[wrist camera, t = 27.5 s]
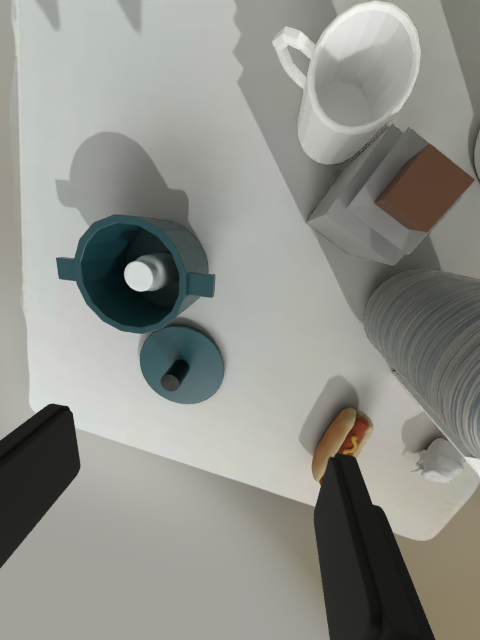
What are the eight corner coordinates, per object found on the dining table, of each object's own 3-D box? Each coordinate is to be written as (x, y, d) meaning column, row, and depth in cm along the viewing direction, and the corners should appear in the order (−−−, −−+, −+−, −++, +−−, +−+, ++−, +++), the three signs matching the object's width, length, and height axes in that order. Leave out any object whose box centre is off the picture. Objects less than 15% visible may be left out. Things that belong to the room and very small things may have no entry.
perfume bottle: (347, 253, 33) (426, 274, 16) (305, 222, 32) (339, 208, 15) (386, 205, 30) (529, 168, 13) (342, 171, 30) (430, 87, 13)
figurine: (458, 443, 39) (482, 471, 34) (414, 470, 42) (432, 499, 37) (440, 428, 39) (463, 455, 34) (397, 457, 41) (413, 485, 37)
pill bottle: (147, 275, 36) (115, 285, 29) (157, 246, 35) (126, 249, 28) (174, 289, 36) (149, 302, 29) (185, 261, 35) (162, 268, 28)
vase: (339, 304, 35) (447, 418, 13) (421, 246, 31) (752, 271, 10) (387, 364, 37) (550, 552, 15) (469, 316, 33) (838, 470, 11)
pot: (102, 214, 35) (42, 207, 26) (230, 226, 33) (214, 224, 24) (109, 302, 39) (60, 322, 30) (223, 317, 37) (208, 343, 29)
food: (334, 470, 44) (341, 499, 39) (304, 460, 44) (307, 487, 39) (373, 408, 39) (387, 432, 34) (339, 396, 39) (348, 418, 34)
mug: (294, 40, 27) (305, -63, 17) (388, 105, 27) (447, 39, 18) (254, 121, 29) (245, 69, 20) (341, 178, 30) (370, 153, 21)
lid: (141, 318, 39) (121, 331, 34) (228, 330, 38) (220, 345, 33) (144, 393, 44) (126, 415, 38) (222, 405, 42) (214, 430, 37)
